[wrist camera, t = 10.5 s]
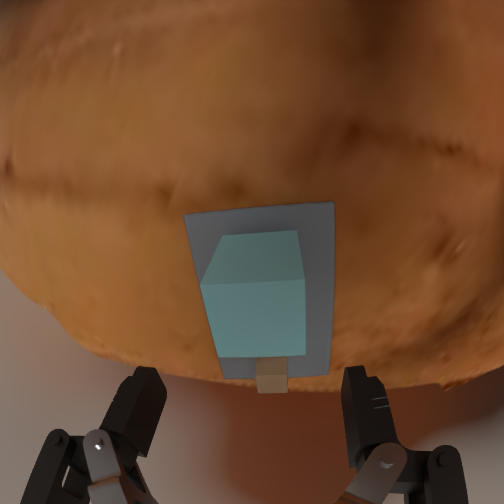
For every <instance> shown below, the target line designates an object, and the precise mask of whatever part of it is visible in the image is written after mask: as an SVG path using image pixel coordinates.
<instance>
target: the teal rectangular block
mask: <svg viewBox="0 0 504 504" xmlns="http://www.w3.org/2000/svg"><path fill="white" fill-rule="evenodd" d="M200 288H201V292H202V296H203V300H204V304H205V308H206V312H207V316H208V320H209V324H210V328H211V332H212V336H213V339H214V343H215V347H216V350H217V354H218V357H277V356H296V355H306V312H305V277H304V271H303V264H302V258H301V252H300V245H299V239H298V234H297V230H291V231H277V232H263V233H250V234H237V235H225V236H222V238H221V240H220V242H219V245H218V247H217V249H216V251H215V253H214V255H213V257H212V260H211V262H210V264H209V266H208V268H207V270H206V273H205V275H204V277H203V279H202V281H201V284H200Z"/></svg>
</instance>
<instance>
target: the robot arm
mask: <svg viewBox="0 0 504 504" xmlns="http://www.w3.org/2000/svg"><path fill="white" fill-rule="evenodd" d="M166 399H167V390H166V387H165V385H164V383H163V382H162V380H161V378H160V376H159V374H158V372H157V370H156V369H155V368H153V367H143V366H138V367H137V368H136V370H135V372H134V374H133V376H128V377H127V378H126V379H125V380H124V381H123V382H122V383H121V385H120V387H119V388H118V391H117V394H116V395H115V397H114V399H113V402H112V403H111V405H110V407H109V409H108V411H107V413H106V415H105V417H104V419H103V422H102V424H101V426H100V427H99V429H95V430H92V431H90V432H89V433H87V434H86V436H69V435H68V433H67V432H65V431H64V430H62V429H55V430H53V431H51V432H50V433H49V434H48V436H47V438H46V440H45V442H44V445H43V447H42V449H41V451H40V454H39V456H38V458H37V461H36V463H35V466H34V468H33V471H32V473H31V475H30V478H29V481H28V483H27V486H26V489H25V491H24V494H23V497H22V500H21V503H20V504H89V502H90V499H91V502H92V504H158V502H157V501H156V500H155V499H154V498H153V496H152V495H151V493H150V491H149V489H148V487H147V484H146V482H145V480H144V478H143V476H142V473H141V471H140V468H139V466H138V463H137V462H136V459H137V456H142V457H147V454H148V451H149V448H150V445H151V442H152V439H153V436H154V434H155V431H156V428H157V424H158V422H159V419H160V416H161V413H162V411H163V408H164V405H165V402H166ZM341 402H342V409H343V417H344V425H345V433H346V442H347V451H348V461H349V468H352V467H356V470H357V475H356V476H355V478H354V479H353V480H352V482H351V483H350V485H349V486H348V487H347V489H346V490H345V491H344V492H343V494H342V495H341V496H340V497H339V498H338V500H337V501H336V502H335V503H334V504H382V503H383V501H384V500H385V498H386V496H387V495H388V493H398V494H404V502H405V504H468V496H467V489H466V483H465V478H464V472H463V467H462V462H461V458H460V454H459V452H458V450H457V449H456V448H454V447H453V446H450V445H442V446H439V447H437V448H436V449H434V450H433V451H413V450H409V449H407V448H405V447H404V446H402V445H401V444H400V442H399V441H398V438H397V435H396V431H395V427H394V422H393V418H392V414H391V410H390V407H389V402H388V399H387V395H386V392H385V388H384V385H383V384H382V382H381V381H380V380H379V379H378V378H377V376H374V377H367V375H366V371H365V368H364V366H363V365H360V366H352V367H345V370H344V376H343V382H342V387H341ZM68 466H70V469H69V472H68V474H67V477H66V480H65V483H64V486H63V488H62V481H63V479H64V476H65V473H66V470H67V467H68Z"/></svg>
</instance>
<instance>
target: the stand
mask: <svg viewBox="0 0 504 504" xmlns="http://www.w3.org/2000/svg"><path fill="white" fill-rule="evenodd" d="M184 220H185V225H186V229H187V234H188V239H189V243H190V248H191V252H192V257H193V261H194V266H195V270H196V274H197V278H198V283H199V287H200V284H201V281H202V279H203V277H204V275H205V273H206V270H207V268H208V266H209V264H210V262H211V260H212V257H213V255H214V253H215V251H216V249H217V247H218V245H219V242H220V240H221V238H222V236H225V235H237V234H250V233H263V232H277V231H291V230H297V234H298V239H299V245H300V252H301V258H302V264H303V271H304V277H305V312H306V355H296V356H277V357H218V358H219V362H220V365H221V369H222V372H223V375H224V379H256V384H257V389H258V393H287V392H288V378H292V377H308V376H320V375H328V374H329V363H330V352H331V339H332V323H333V304H334V274H335V216H334V202H333V201H328V202H312V203H298V204H284V205H272V206H260V207H249V208H239V209H229V210H219V211H210V212H201V213H192V214H185V215H184ZM200 291H201V288H200ZM201 295H202V292H201ZM202 299H203V296H202ZM203 303H204V300H203ZM204 307H205V304H204ZM205 311H206V308H205ZM206 314H207V312H206ZM207 318H208V316H207ZM208 322H209V320H208ZM209 326H210V324H209ZM210 330H211V328H210ZM211 333H212V332H211ZM212 337H213V336H212ZM213 341H214V339H213ZM214 344H215V343H214ZM215 348H216V347H215ZM216 351H217V350H216ZM217 355H218V354H217Z"/></svg>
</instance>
